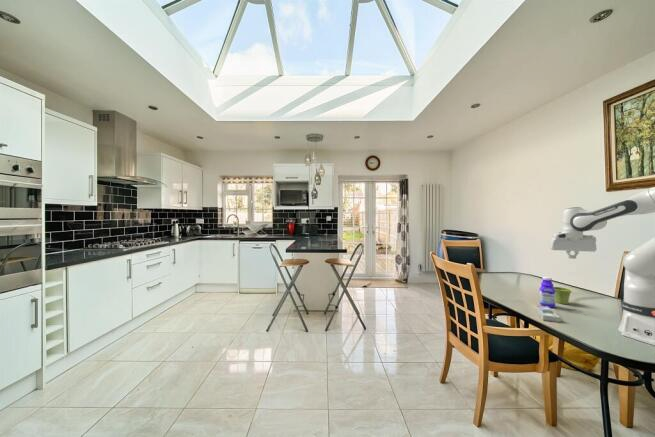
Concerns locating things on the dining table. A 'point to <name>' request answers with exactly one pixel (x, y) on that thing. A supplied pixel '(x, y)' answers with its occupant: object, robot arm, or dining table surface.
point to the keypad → (546, 317)
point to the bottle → (547, 292)
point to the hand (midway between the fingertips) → (572, 258)
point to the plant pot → (562, 295)
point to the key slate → (545, 309)
